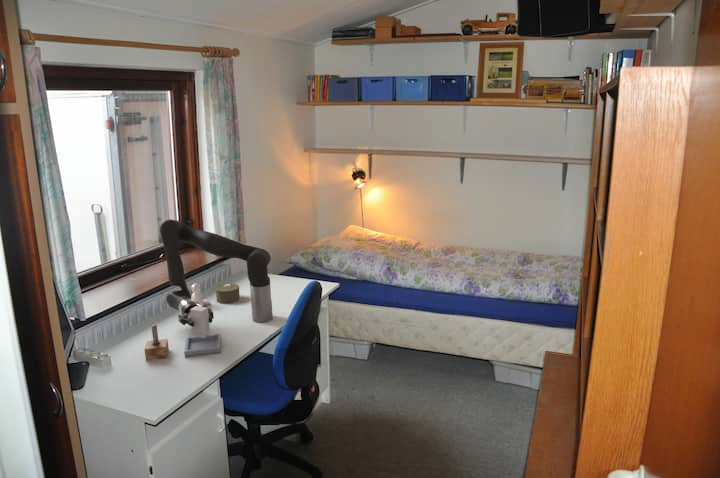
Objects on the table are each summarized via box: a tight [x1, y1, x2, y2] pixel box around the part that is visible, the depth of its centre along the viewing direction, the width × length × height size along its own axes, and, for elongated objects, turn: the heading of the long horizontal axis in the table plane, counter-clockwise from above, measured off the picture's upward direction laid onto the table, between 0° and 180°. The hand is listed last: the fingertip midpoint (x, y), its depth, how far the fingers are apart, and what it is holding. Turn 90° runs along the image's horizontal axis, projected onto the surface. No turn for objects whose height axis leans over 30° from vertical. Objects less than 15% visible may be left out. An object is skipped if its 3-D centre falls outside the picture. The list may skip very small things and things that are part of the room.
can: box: [214, 283, 241, 305], centre depth 289 cm, size 12×12×7 cm
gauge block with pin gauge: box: [144, 324, 170, 362], centre depth 227 cm, size 8×8×13 cm
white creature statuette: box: [189, 283, 210, 307], centre depth 279 cm, size 10×9×12 cm
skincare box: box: [190, 306, 211, 338], centre depth 232 cm, size 6×4×12 cm
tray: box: [184, 333, 222, 358], centre depth 234 cm, size 14×14×2 cm
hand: (202, 322), depth 230 cm, fingers closed on skincare box, 6 cm apart
